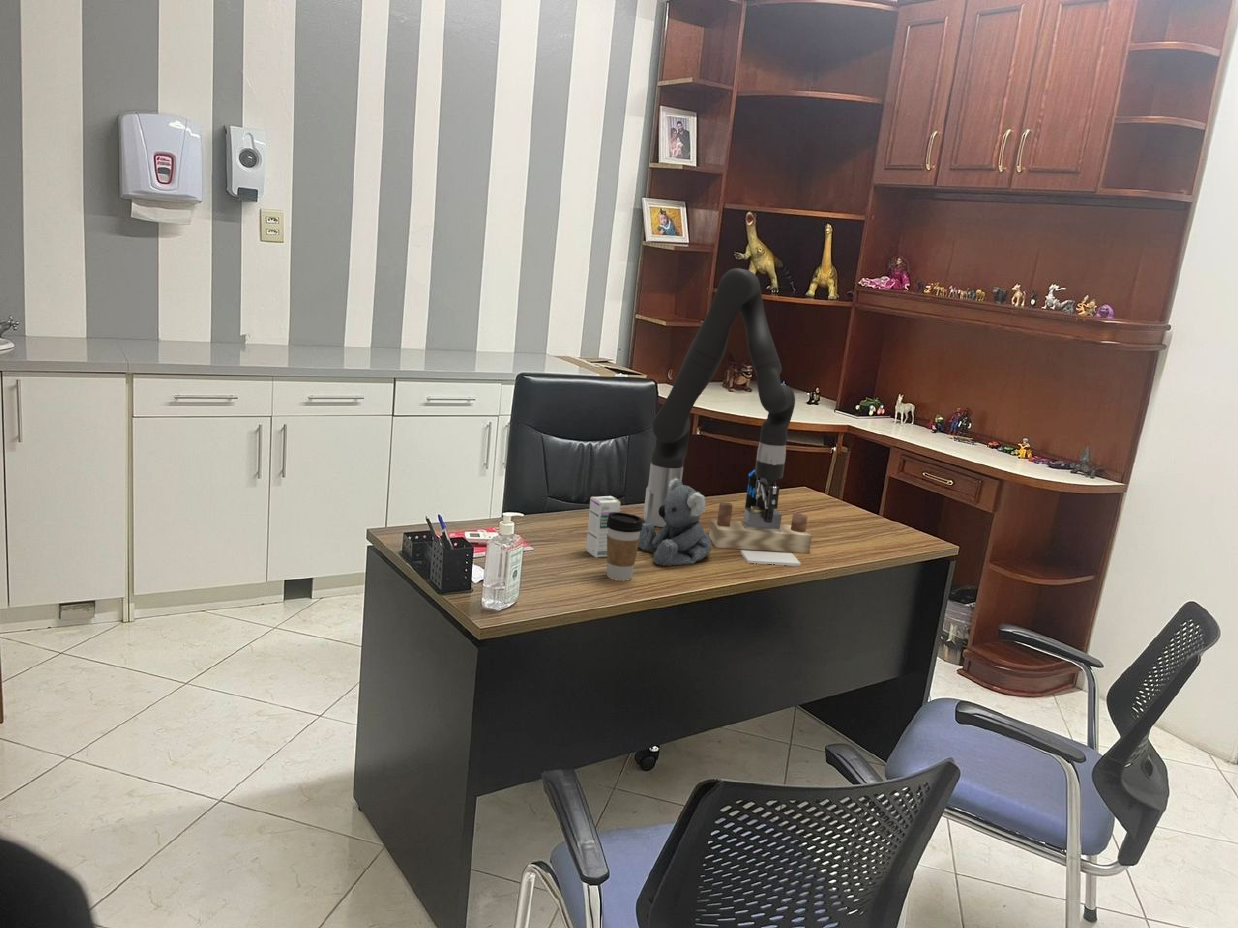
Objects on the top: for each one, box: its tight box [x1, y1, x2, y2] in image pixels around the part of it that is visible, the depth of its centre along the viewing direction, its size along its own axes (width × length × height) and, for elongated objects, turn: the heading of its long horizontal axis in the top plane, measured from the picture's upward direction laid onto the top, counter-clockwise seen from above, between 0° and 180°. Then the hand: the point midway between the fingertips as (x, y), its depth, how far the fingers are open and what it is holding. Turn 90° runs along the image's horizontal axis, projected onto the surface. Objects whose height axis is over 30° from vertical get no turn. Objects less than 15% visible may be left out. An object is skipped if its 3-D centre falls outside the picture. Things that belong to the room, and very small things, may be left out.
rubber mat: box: [740, 549, 801, 567], centre depth 249 cm, size 14×8×1 cm, turn 96°
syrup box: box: [585, 495, 621, 559], centre depth 239 cm, size 6×6×14 cm
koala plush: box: [638, 478, 712, 567], centre depth 243 cm, size 17×18×20 cm
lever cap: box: [742, 506, 783, 529], centre depth 259 cm, size 9×5×5 cm, turn 96°
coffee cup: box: [606, 512, 643, 581], centre depth 224 cm, size 8×8×15 cm
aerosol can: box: [744, 469, 777, 509], centre depth 273 cm, size 8×8×20 cm
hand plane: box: [708, 501, 813, 554], centre depth 260 cm, size 26×9×11 cm, turn 96°
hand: (763, 517), depth 259 cm, fingers open, 8 cm apart
